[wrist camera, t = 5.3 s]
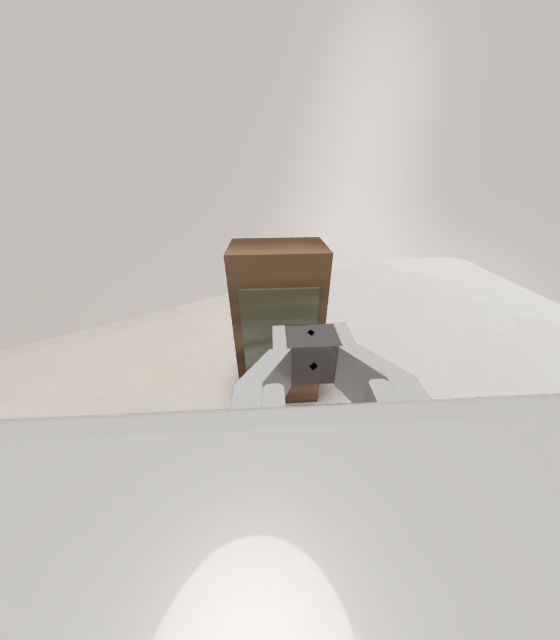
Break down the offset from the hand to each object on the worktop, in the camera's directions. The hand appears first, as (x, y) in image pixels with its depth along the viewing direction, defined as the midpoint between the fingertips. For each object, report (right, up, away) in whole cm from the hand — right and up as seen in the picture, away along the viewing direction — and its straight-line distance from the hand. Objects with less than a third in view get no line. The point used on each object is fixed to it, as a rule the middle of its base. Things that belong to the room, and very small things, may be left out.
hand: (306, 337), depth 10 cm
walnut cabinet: (-1, -5, +11) cm, 12 cm away
